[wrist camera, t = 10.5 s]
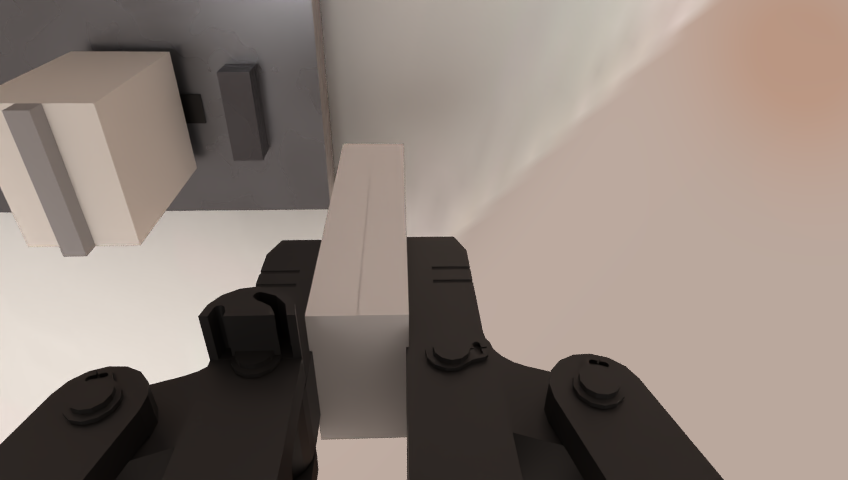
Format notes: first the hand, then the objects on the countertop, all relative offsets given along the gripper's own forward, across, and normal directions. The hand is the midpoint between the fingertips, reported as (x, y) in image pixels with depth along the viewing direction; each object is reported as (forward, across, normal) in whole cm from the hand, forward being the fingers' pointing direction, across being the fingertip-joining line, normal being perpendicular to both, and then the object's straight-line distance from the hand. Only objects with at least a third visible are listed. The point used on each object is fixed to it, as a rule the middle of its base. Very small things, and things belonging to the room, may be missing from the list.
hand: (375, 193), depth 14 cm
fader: (+5, -8, 0) cm, 10 cm away
